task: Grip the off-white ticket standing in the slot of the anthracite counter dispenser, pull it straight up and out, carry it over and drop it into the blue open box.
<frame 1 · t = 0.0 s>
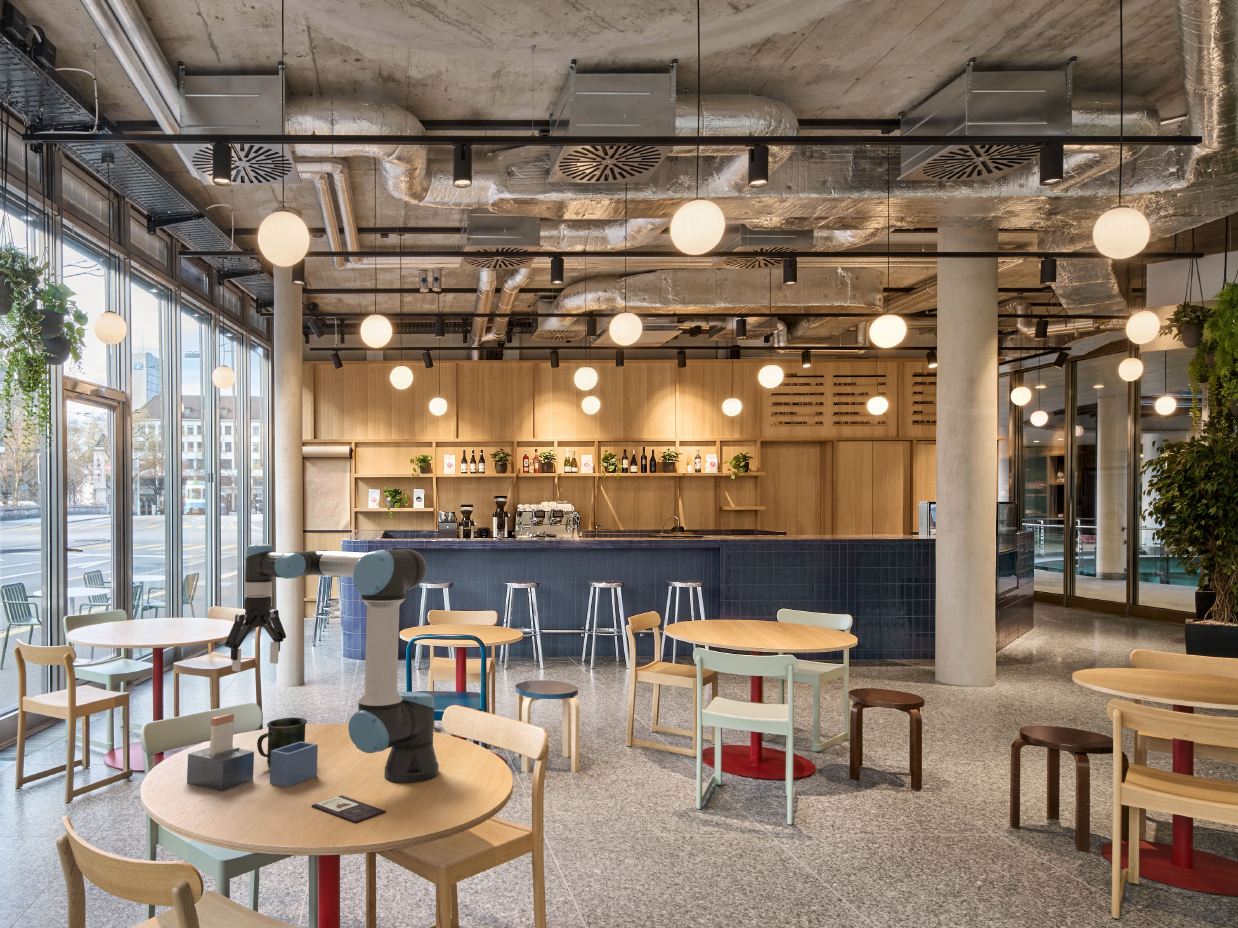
hand: (255, 666, 248), 28 cm above the table, fingers open, 13 cm apart
ticket: (220, 774, 229), point 2 cm above the table, touching dispenser
dispenser: (220, 781, 228), on the table
mug: (280, 764, 245), on the table
chocolate bar: (348, 812, 209), on the table
blue open box: (293, 779, 231), on the table
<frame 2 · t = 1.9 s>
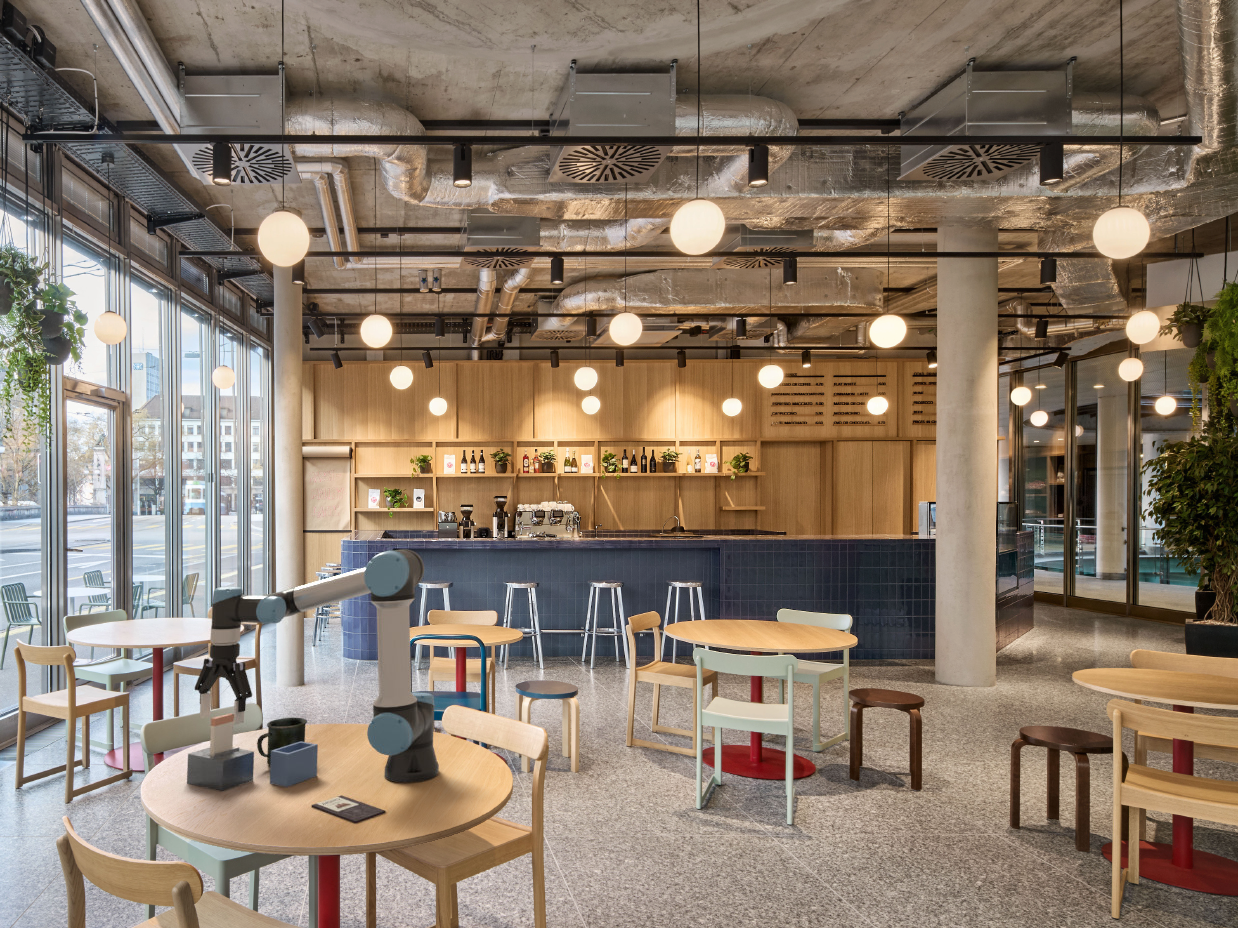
hand: (221, 720, 229), 17 cm above the table, fingers open, 13 cm apart
nothing on the table moved.
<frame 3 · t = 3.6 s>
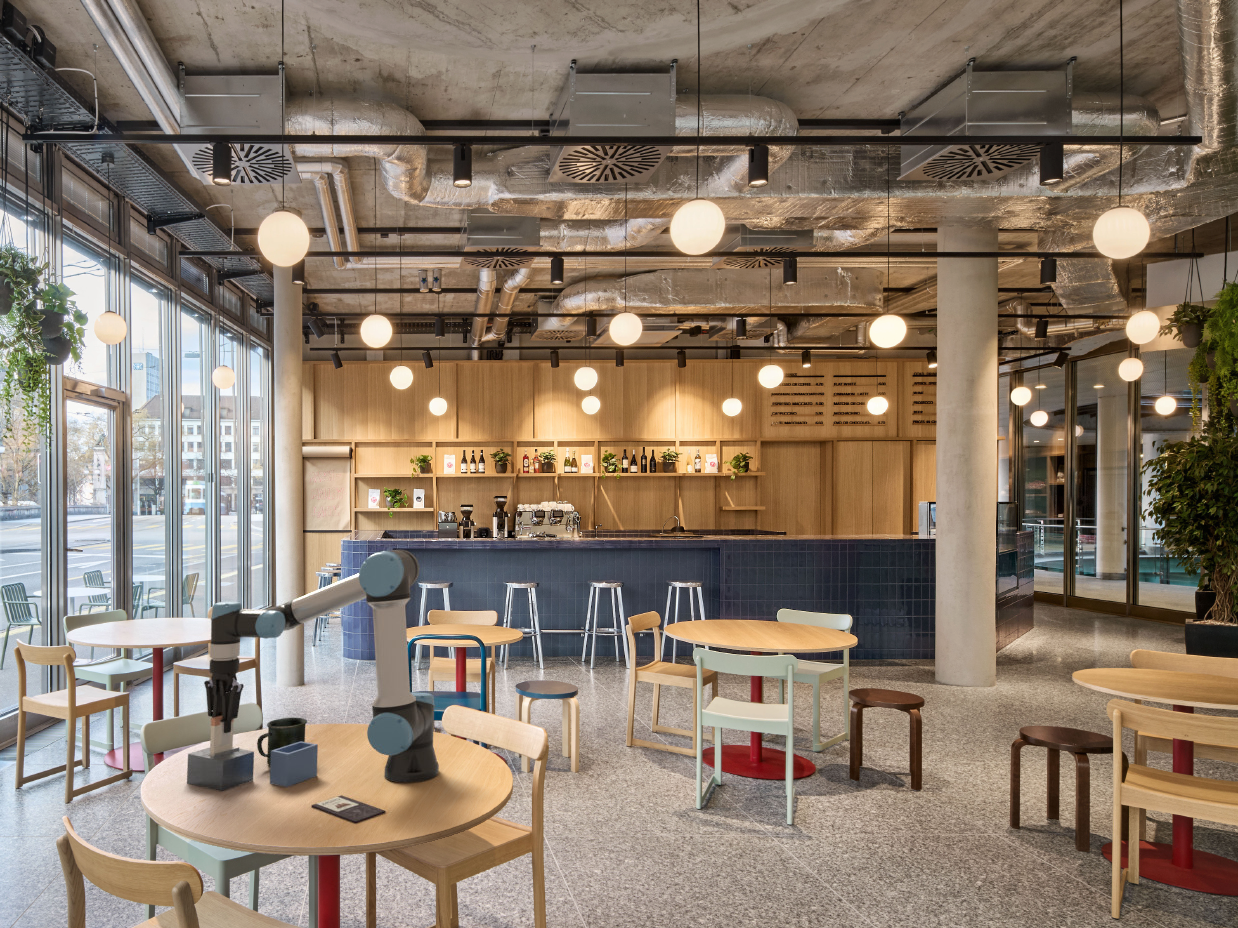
hand: (221, 743, 229), 10 cm above the table, fingers closed on ticket, 1 cm apart
ticket: (220, 774, 229), point 2 cm above the table, touching dispenser, gripper
everything else where it was.
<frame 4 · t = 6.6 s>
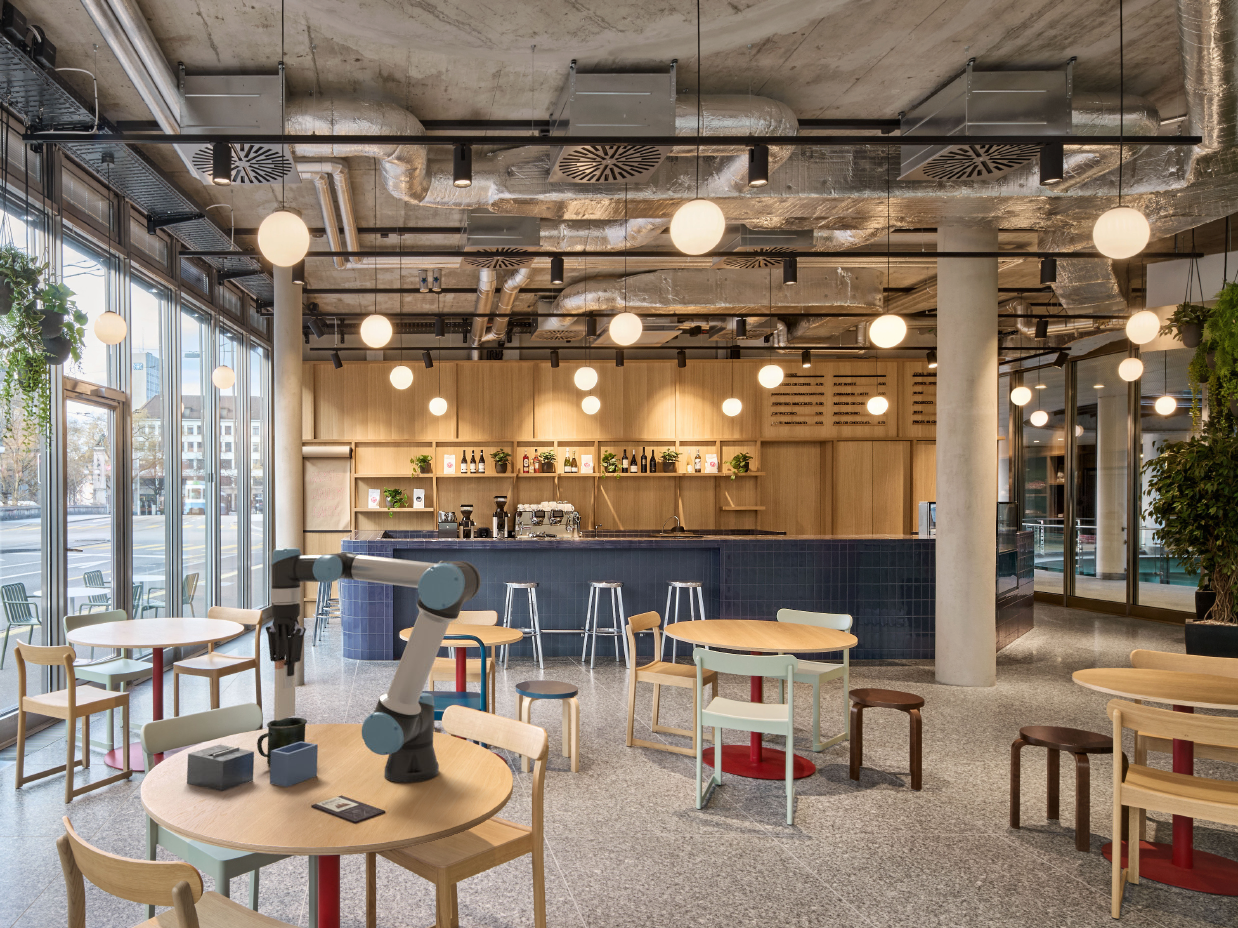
hand: (285, 687, 232), 26 cm above the table, fingers closed on ticket, 1 cm apart
ticket: (284, 717, 231), point 17 cm above the table, touching gripper
everything else where it was.
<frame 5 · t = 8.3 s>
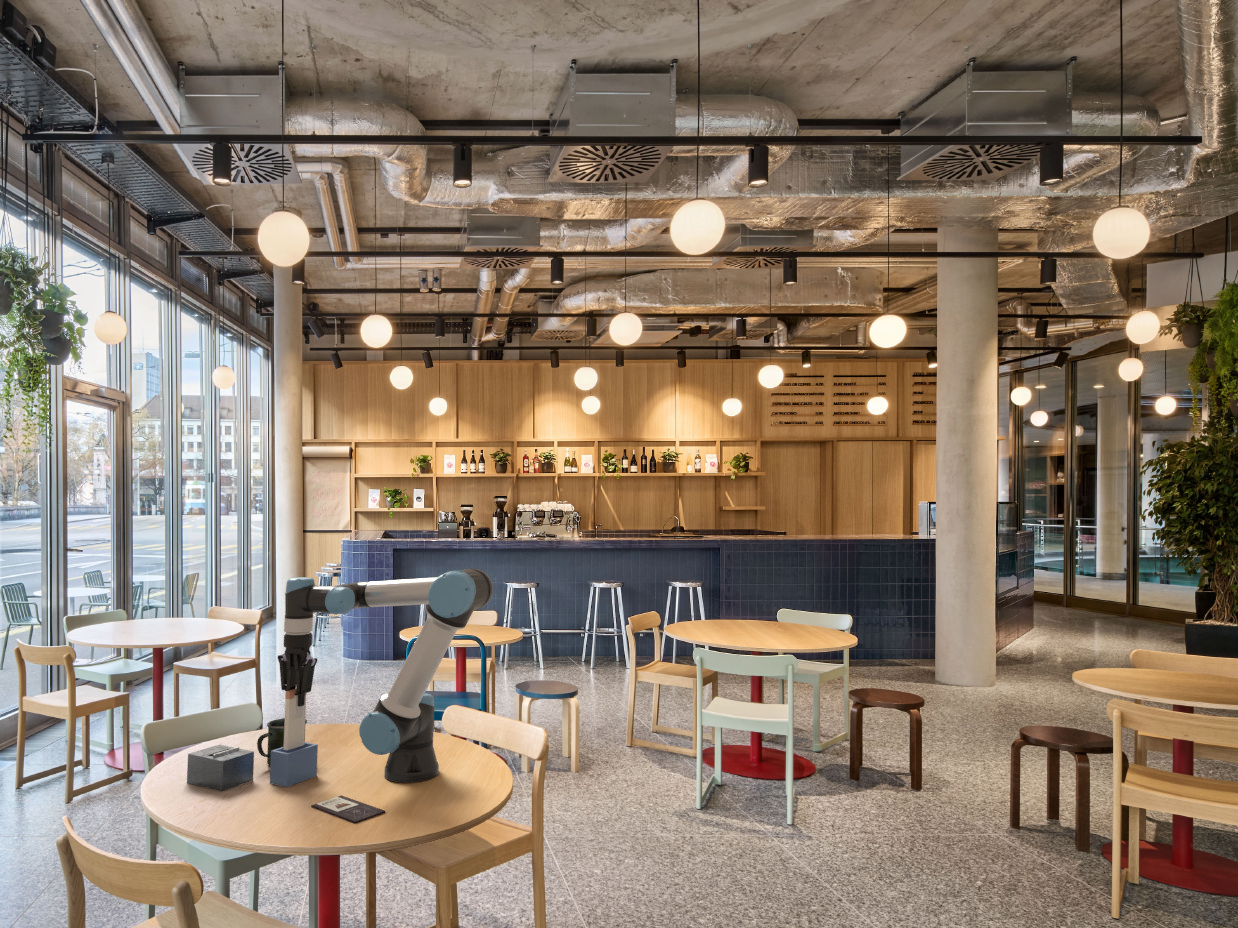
hand: (295, 716, 232), 17 cm above the table, fingers closed on ticket, 1 cm apart
ticket: (294, 747, 232), point 9 cm above the table, touching gripper
everything else where it was.
when the fingers open (12 cm above the table, at t = 9.7 s): ticket drops 3 cm, resting on blue open box.
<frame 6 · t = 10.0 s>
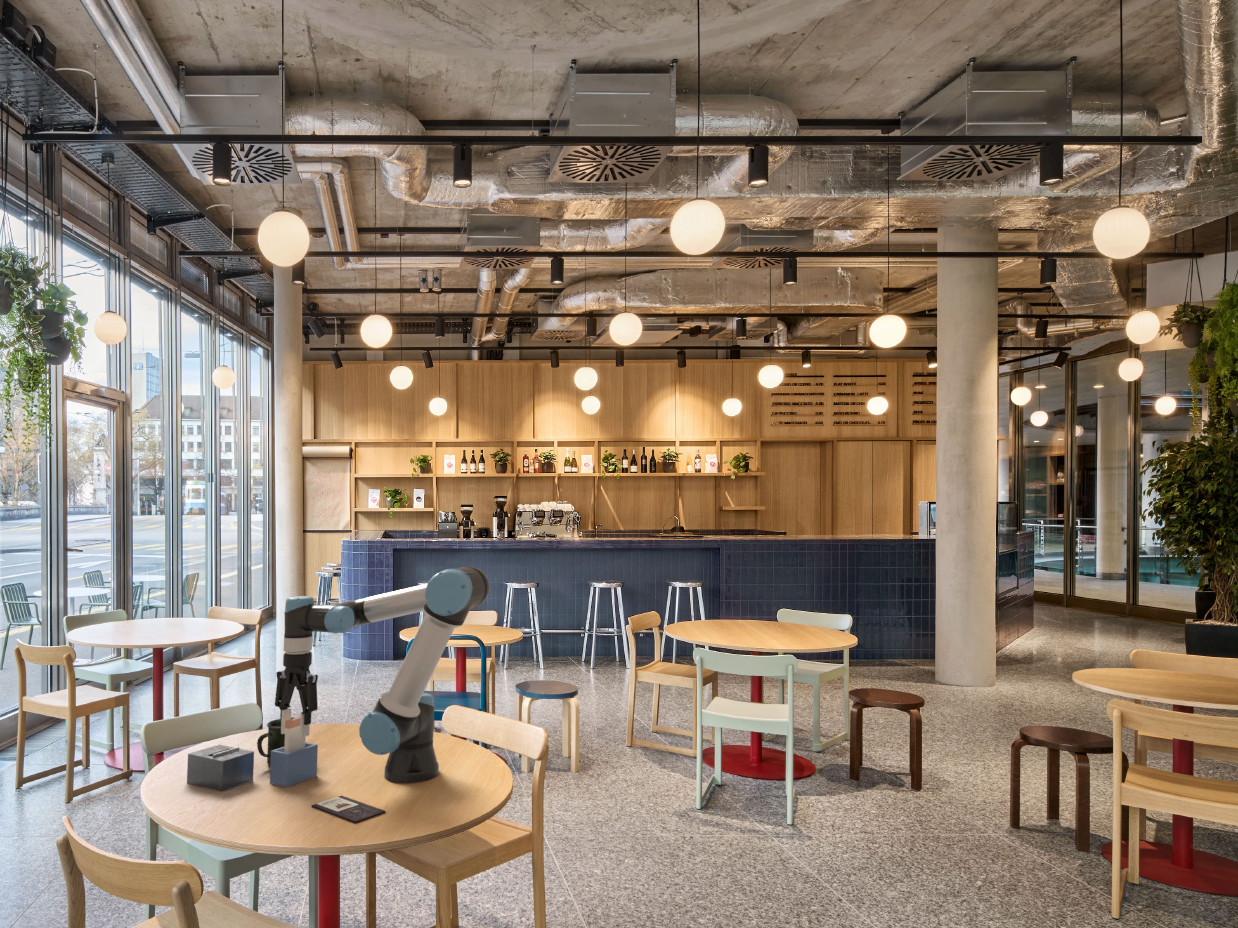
hand: (295, 734, 232), 12 cm above the table, fingers open, 7 cm apart
ticket: (293, 776, 231), point 1 cm above the table, touching blue open box
everything else where it was.
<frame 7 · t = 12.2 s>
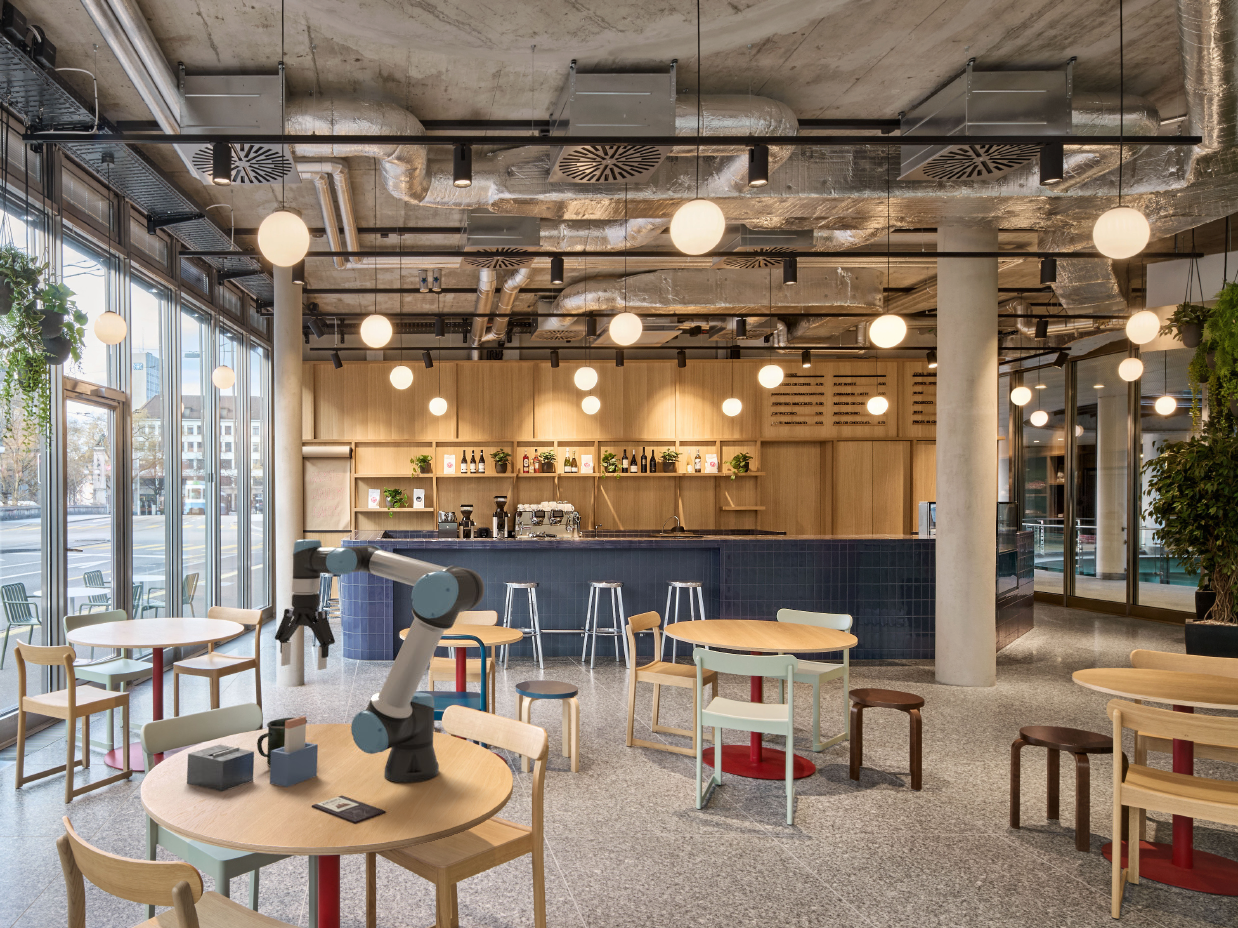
hand: (303, 667, 238), 30 cm above the table, fingers open, 13 cm apart
nothing on the table moved.
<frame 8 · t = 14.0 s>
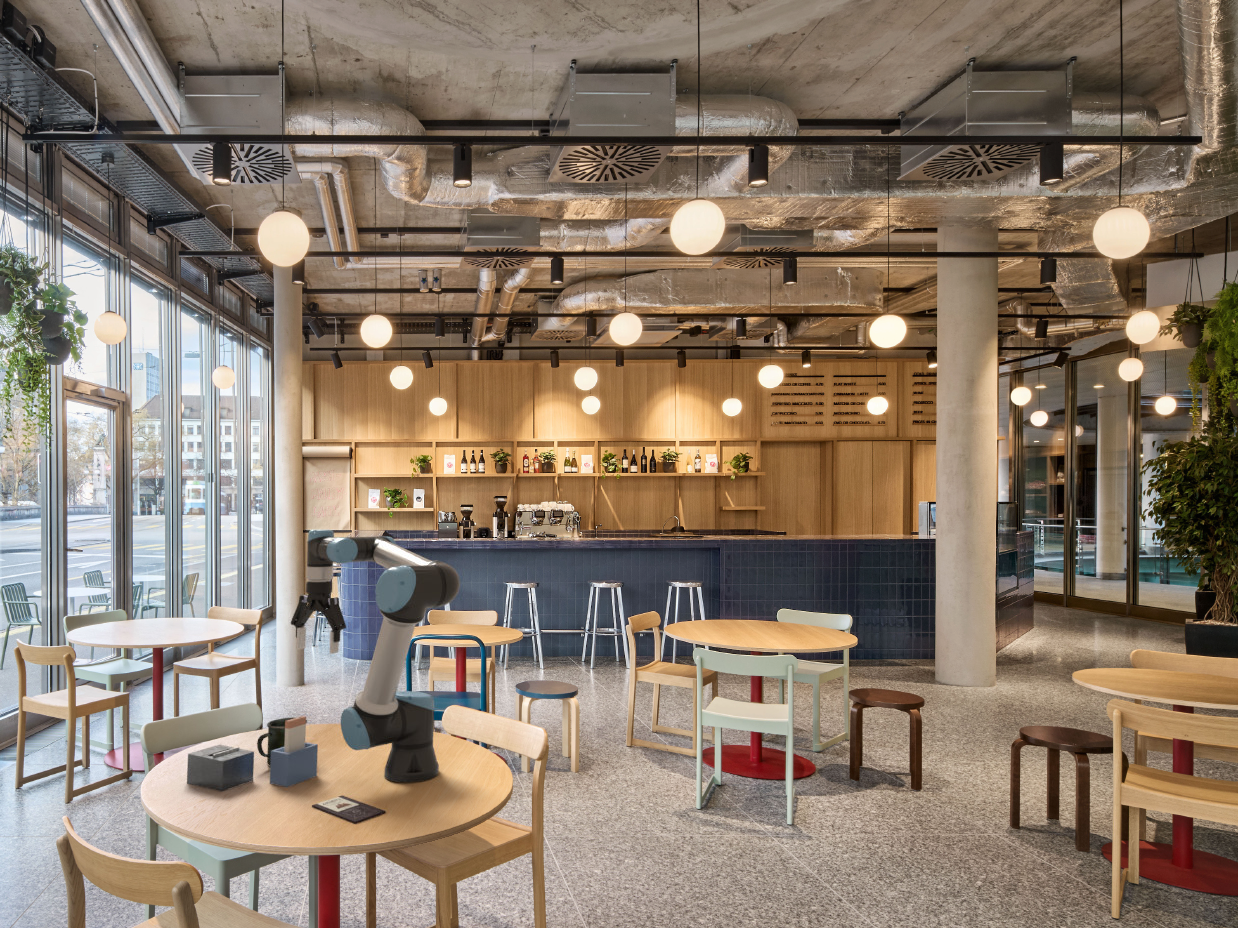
hand: (317, 650, 250), 33 cm above the table, fingers open, 13 cm apart
nothing on the table moved.
at the end: ticket inside the target area on the blue open box (0.0 cm from its centre), point 0.8 cm above the blue open box's base; the gripper is holding nothing; ticket touching blue open box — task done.
